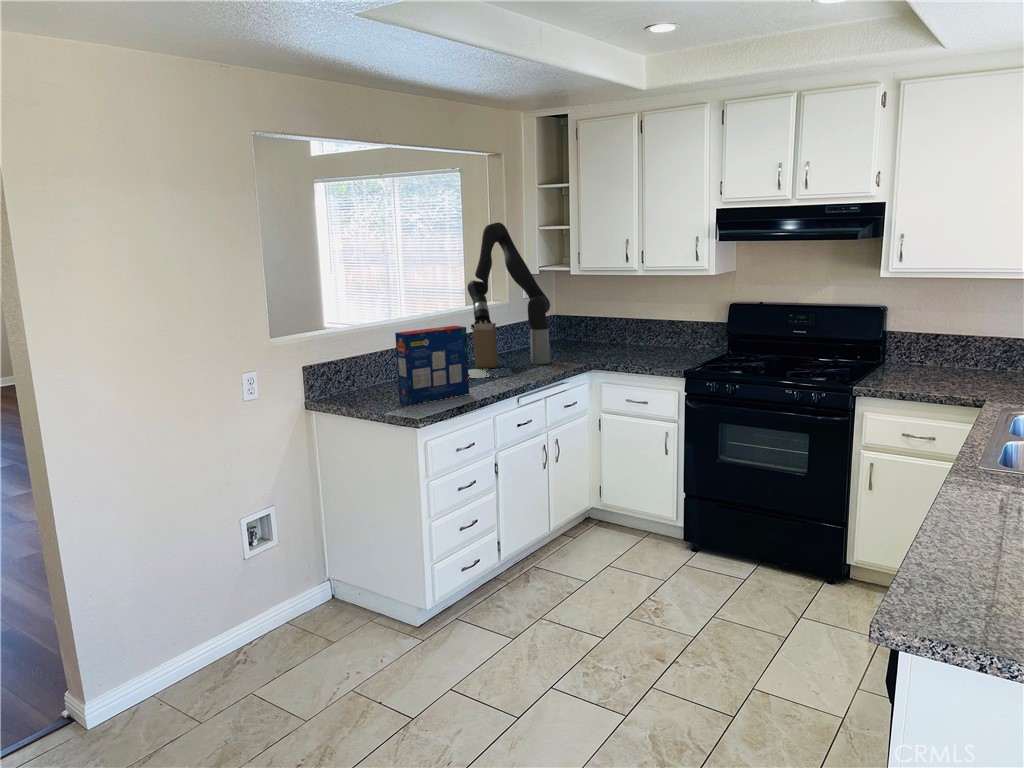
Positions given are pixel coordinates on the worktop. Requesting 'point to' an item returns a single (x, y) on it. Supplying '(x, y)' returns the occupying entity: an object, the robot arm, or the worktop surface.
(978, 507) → the worktop surface
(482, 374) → the mat
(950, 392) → the worktop surface
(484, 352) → the wooden block
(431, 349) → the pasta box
